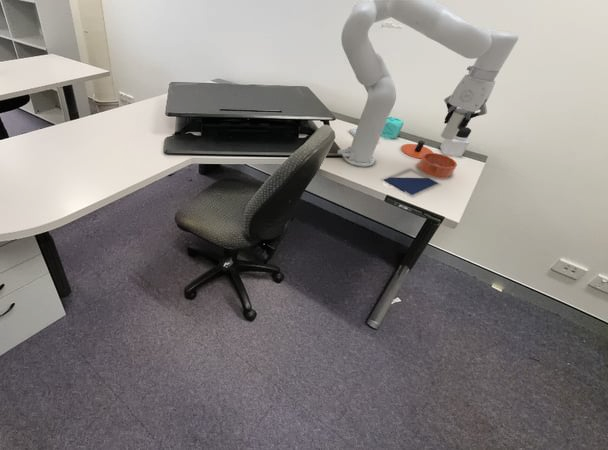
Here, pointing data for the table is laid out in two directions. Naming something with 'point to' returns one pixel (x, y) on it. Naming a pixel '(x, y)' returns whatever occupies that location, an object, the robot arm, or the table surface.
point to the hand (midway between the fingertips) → (454, 125)
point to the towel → (411, 184)
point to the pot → (436, 170)
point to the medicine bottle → (456, 143)
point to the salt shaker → (454, 124)
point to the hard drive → (353, 131)
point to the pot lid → (415, 150)
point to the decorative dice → (392, 127)
